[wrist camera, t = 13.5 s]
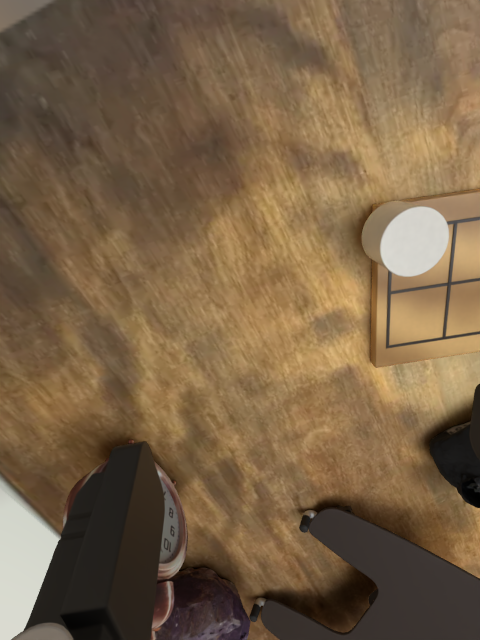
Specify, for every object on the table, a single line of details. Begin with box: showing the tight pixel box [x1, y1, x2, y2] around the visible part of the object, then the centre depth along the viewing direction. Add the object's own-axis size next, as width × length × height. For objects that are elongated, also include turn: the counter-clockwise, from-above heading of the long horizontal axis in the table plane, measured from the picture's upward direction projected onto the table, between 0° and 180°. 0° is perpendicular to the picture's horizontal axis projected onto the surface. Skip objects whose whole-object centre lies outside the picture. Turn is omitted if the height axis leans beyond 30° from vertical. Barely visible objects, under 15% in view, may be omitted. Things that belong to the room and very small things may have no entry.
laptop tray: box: [250, 505, 480, 640], centre depth 44 cm, size 23×23×9 cm
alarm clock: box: [53, 439, 188, 640], centre depth 31 cm, size 11×5×15 cm, turn 34°
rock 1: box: [155, 568, 250, 640], centre depth 41 cm, size 12×9×10 cm
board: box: [371, 189, 480, 368], centre depth 31 cm, size 14×12×1 cm
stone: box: [362, 201, 449, 277], centre depth 27 cm, size 5×5×3 cm
